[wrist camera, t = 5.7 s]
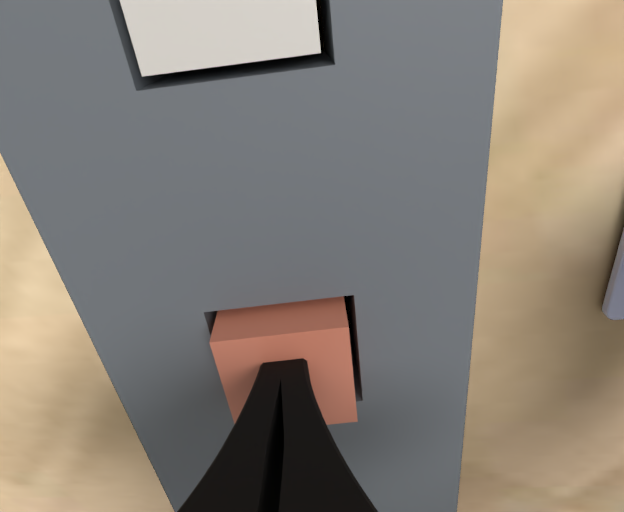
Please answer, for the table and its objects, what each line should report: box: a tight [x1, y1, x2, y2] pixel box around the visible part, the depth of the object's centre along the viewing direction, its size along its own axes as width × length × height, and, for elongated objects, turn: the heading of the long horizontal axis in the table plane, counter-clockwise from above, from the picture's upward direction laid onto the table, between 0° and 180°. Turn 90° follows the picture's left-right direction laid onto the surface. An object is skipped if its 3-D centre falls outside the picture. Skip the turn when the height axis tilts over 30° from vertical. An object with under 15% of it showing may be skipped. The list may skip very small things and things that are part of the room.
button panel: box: [0, 0, 503, 512], centre depth 16 cm, size 12×32×4 cm, turn 7°
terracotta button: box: [209, 296, 358, 425], centre depth 15 cm, size 4×4×4 cm
